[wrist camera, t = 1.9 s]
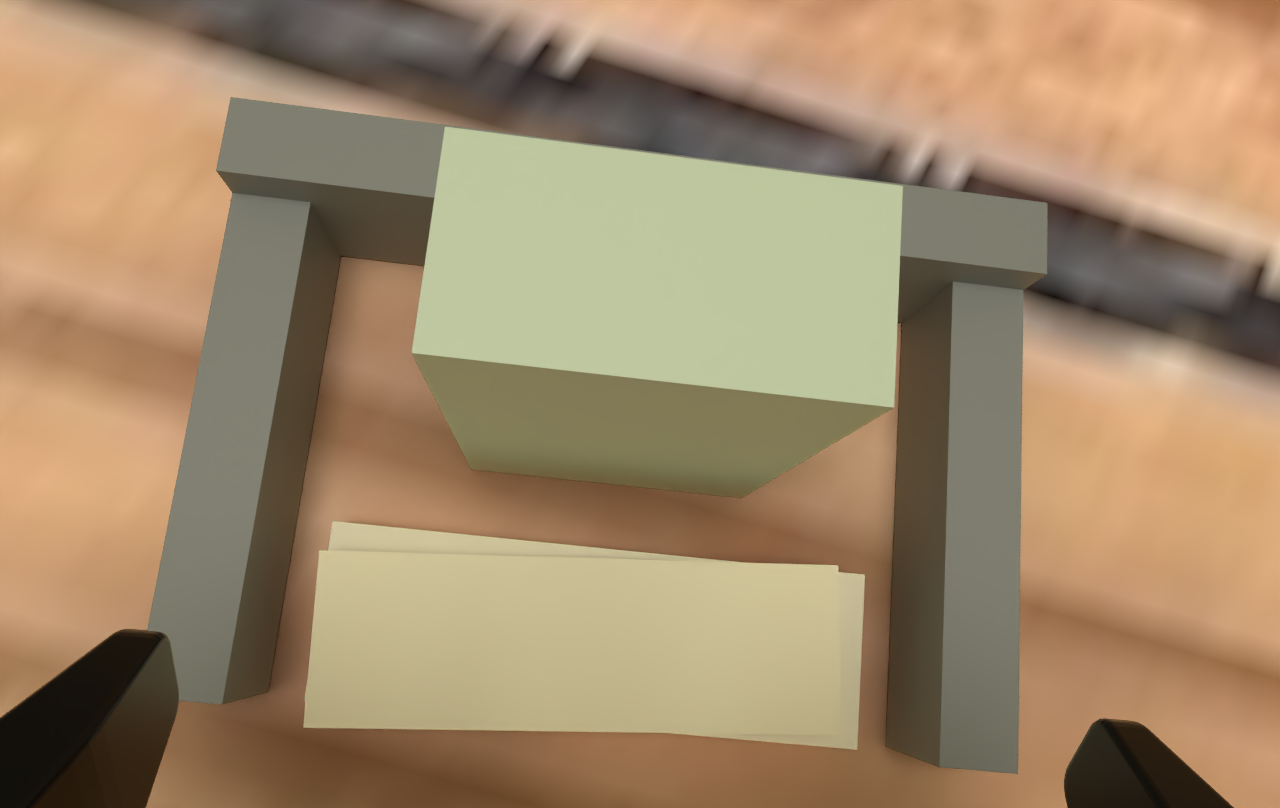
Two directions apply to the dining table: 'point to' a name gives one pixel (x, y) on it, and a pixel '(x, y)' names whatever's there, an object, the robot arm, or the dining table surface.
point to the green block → (653, 312)
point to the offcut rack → (577, 575)
